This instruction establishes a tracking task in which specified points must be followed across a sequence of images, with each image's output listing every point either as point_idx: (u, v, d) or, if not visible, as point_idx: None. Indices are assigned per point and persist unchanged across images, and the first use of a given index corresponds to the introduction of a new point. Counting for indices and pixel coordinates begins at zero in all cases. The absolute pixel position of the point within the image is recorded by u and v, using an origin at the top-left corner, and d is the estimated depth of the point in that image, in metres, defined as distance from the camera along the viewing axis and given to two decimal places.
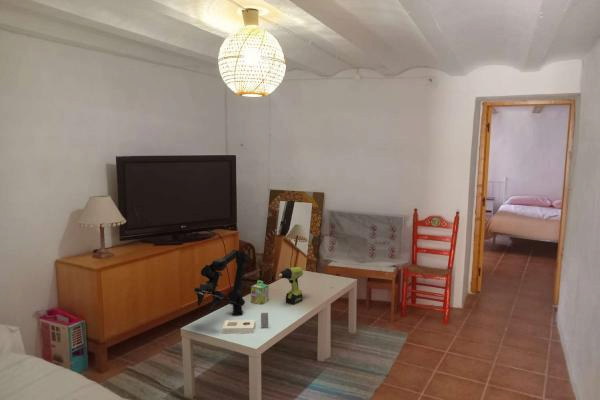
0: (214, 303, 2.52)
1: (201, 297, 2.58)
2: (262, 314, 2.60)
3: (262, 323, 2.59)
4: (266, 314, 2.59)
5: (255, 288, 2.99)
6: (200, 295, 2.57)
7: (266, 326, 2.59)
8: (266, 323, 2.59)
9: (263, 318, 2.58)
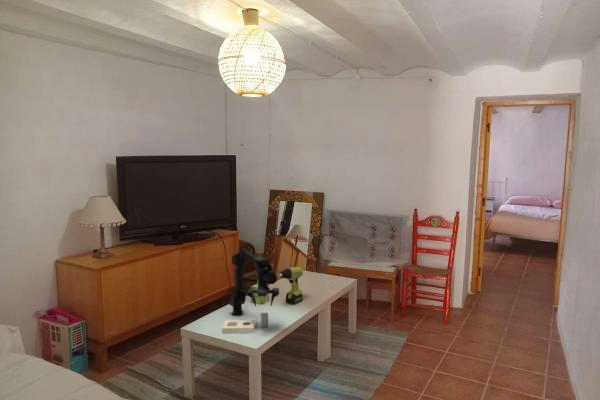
0: None
1: (255, 297, 2.59)
2: (262, 314, 2.60)
3: (262, 323, 2.59)
4: (266, 314, 2.59)
5: (255, 288, 2.99)
6: (254, 296, 2.58)
7: (266, 326, 2.59)
8: (266, 323, 2.59)
9: (263, 318, 2.58)
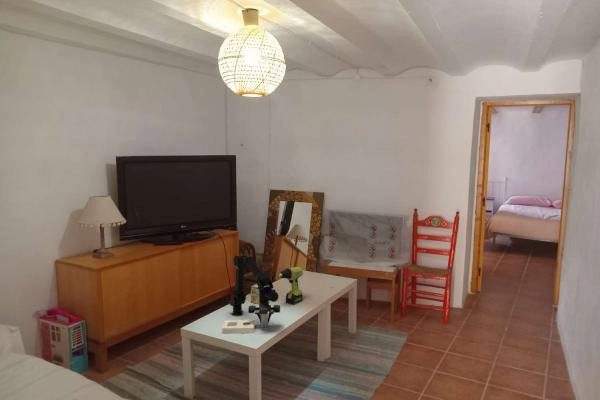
0: None
1: (260, 314, 2.61)
2: (262, 314, 2.60)
3: (262, 323, 2.59)
4: (266, 314, 2.59)
5: (255, 288, 2.99)
6: (259, 313, 2.59)
7: (266, 326, 2.59)
8: (266, 323, 2.59)
9: (263, 318, 2.58)
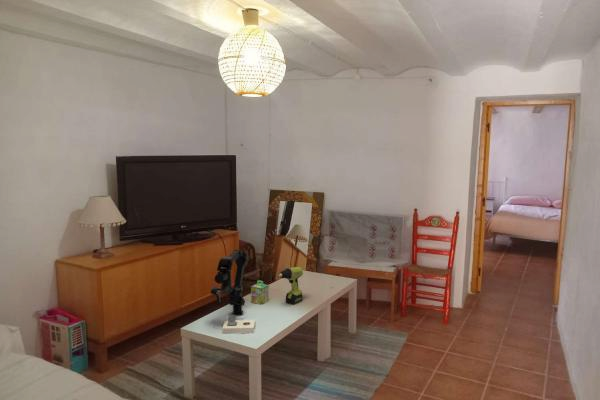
0: (236, 298, 2.67)
1: (219, 295, 2.67)
2: (229, 316, 2.57)
3: (229, 325, 2.56)
4: (233, 316, 2.57)
5: (255, 288, 2.99)
6: (218, 294, 2.66)
7: None
8: (234, 325, 2.56)
9: (230, 320, 2.56)
